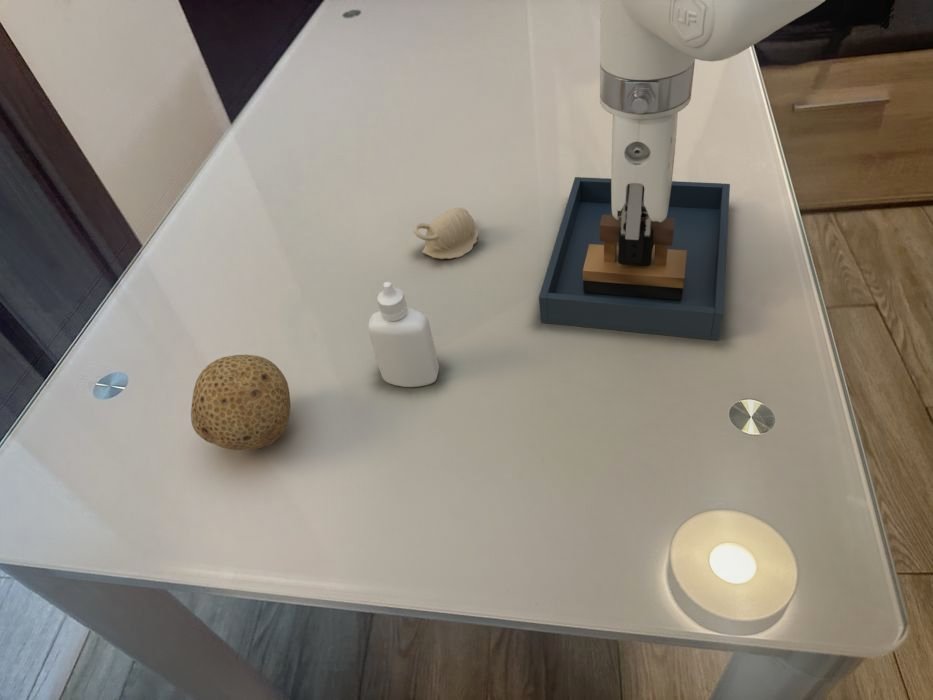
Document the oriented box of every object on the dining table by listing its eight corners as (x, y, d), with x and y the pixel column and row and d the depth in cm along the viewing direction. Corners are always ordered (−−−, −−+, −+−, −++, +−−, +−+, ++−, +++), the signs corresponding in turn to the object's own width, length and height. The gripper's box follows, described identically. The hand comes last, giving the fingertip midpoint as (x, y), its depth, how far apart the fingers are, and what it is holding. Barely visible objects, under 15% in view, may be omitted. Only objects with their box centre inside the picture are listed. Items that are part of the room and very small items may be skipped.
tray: (725, 209, 83) (730, 183, 80) (718, 340, 69) (723, 313, 66) (575, 201, 88) (574, 176, 85) (540, 322, 74) (538, 297, 71)
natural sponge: (212, 488, 64) (165, 420, 57) (214, 415, 70) (172, 345, 63) (311, 462, 65) (276, 391, 58) (304, 391, 71) (272, 320, 64)
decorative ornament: (487, 243, 84) (483, 206, 80) (427, 273, 82) (419, 235, 78) (469, 228, 87) (464, 190, 83) (410, 256, 84) (402, 219, 80)
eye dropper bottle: (404, 351, 73) (380, 260, 65) (446, 371, 71) (427, 280, 62) (376, 378, 71) (347, 288, 63) (419, 400, 68) (394, 310, 60)
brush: (684, 274, 75) (691, 211, 69) (681, 302, 72) (689, 238, 66) (589, 267, 78) (589, 205, 72) (582, 293, 75) (582, 232, 69)
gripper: (686, 131, 53) (667, 311, 66) (697, 39, 63) (679, 211, 76) (585, 129, 55) (586, 304, 68) (612, 40, 65) (608, 207, 78)
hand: (635, 254), depth 72 cm, fingers closed on brush
